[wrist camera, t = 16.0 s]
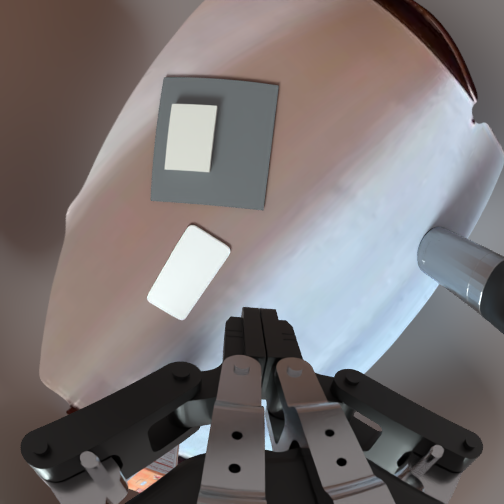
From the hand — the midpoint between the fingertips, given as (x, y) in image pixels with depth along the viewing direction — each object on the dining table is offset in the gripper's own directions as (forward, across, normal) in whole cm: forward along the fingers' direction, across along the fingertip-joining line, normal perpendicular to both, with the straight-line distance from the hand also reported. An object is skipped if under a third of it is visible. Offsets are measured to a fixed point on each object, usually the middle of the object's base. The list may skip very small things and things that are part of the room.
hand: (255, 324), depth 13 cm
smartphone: (+29, +8, +10) cm, 32 cm away
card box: (+27, +5, -10) cm, 29 cm away
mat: (+28, +5, -10) cm, 30 cm away
